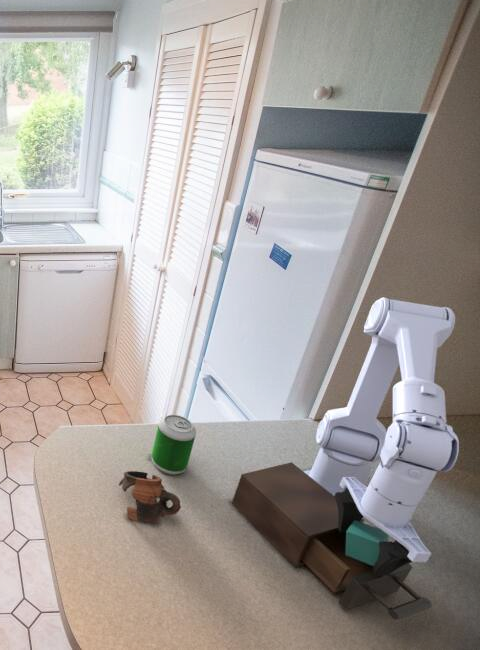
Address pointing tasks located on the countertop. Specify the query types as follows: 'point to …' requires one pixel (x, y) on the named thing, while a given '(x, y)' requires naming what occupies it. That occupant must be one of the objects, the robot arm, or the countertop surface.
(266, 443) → the countertop surface
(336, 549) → the drawer
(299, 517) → the cabinet
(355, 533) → the block
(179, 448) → the soda can
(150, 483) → the pottery mug
